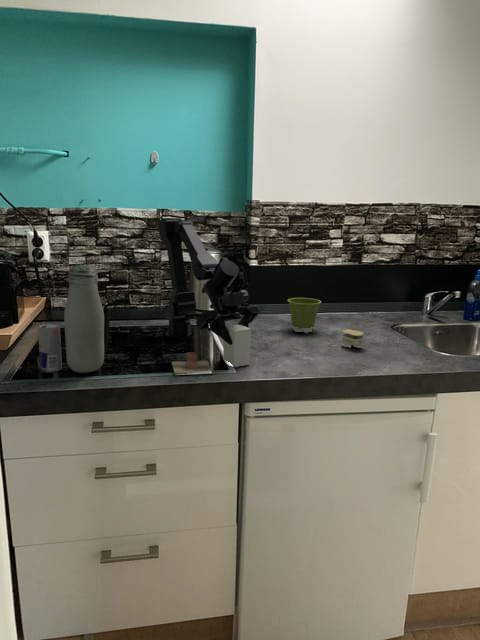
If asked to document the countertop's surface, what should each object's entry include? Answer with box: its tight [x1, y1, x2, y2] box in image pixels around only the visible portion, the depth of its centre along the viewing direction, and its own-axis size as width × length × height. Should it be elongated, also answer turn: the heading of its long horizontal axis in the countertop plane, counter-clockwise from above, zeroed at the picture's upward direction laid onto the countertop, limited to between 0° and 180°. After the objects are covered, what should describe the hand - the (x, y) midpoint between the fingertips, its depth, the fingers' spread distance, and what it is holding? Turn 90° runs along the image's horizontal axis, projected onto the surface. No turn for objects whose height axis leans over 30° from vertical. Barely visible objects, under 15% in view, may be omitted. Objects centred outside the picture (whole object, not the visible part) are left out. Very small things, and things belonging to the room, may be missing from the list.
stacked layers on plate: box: [340, 329, 364, 346], centre depth 166 cm, size 10×9×6 cm
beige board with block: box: [171, 351, 213, 376], centre depth 141 cm, size 10×10×4 cm
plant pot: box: [287, 297, 322, 328], centre depth 184 cm, size 12×12×11 cm
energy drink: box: [37, 323, 63, 374], centre depth 137 cm, size 5×5×12 cm
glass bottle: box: [63, 265, 105, 374], centre depth 134 cm, size 10×10×28 cm
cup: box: [103, 308, 111, 353], centre depth 155 cm, size 8×8×12 cm
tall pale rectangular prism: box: [222, 324, 252, 365], centre depth 146 cm, size 5×5×11 cm
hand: (239, 342), depth 145 cm, fingers closed on tall pale rectangular prism, 5 cm apart
